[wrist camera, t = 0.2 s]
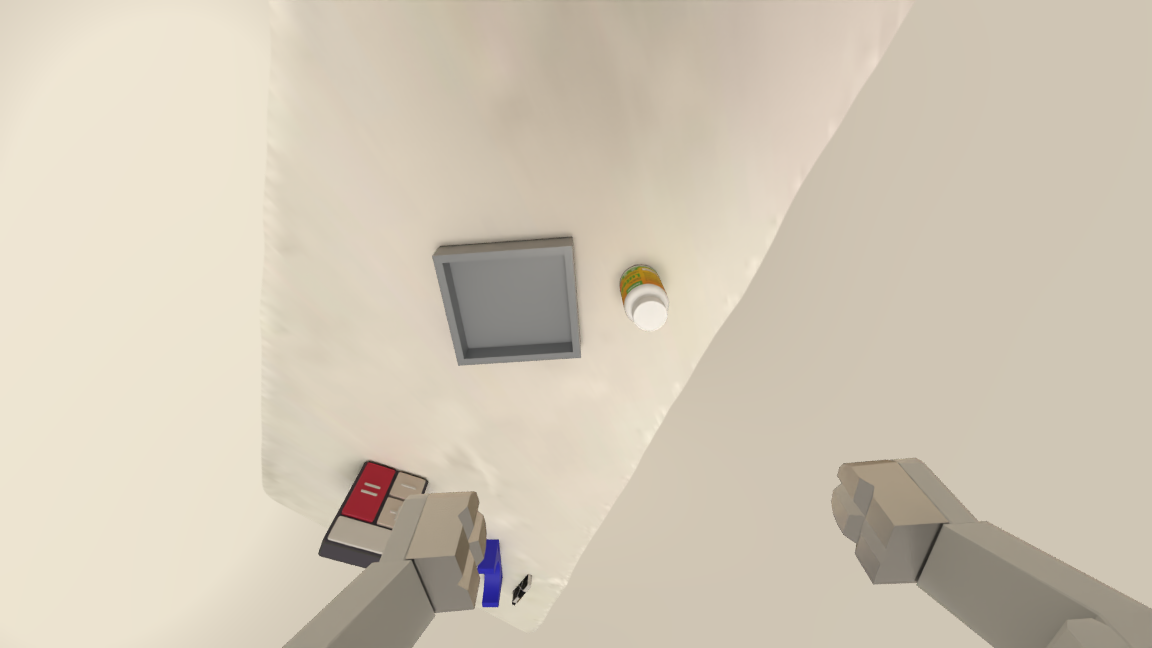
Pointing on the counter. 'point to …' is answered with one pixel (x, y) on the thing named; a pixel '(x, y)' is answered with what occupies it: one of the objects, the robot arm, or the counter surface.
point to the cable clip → (491, 574)
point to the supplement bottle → (644, 297)
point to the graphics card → (521, 589)
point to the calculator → (369, 515)
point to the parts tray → (510, 300)
